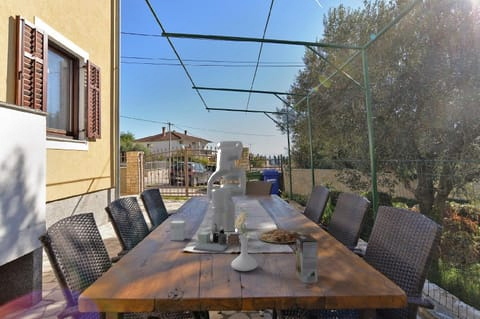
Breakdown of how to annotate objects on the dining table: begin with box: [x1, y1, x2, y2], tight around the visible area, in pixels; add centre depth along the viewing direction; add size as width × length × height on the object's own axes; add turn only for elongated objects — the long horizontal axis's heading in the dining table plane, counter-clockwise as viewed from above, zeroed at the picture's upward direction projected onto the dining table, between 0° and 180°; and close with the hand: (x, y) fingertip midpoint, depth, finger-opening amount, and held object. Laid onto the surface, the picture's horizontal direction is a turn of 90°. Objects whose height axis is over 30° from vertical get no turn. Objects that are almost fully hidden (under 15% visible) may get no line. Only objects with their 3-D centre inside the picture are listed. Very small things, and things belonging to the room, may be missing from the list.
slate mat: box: [193, 243, 229, 253], centre depth 149 cm, size 9×16×1 cm, turn 73°
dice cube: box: [214, 232, 228, 245], centre depth 159 cm, size 5×5×5 cm
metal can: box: [234, 227, 245, 235], centre depth 168 cm, size 5×5×6 cm
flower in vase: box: [230, 211, 258, 272], centre depth 120 cm, size 13×11×25 cm
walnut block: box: [227, 233, 241, 246], centre depth 157 cm, size 6×5×5 cm
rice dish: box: [257, 228, 304, 244], centre depth 168 cm, size 28×28×5 cm
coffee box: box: [294, 233, 319, 284], centre depth 111 cm, size 9×6×16 cm
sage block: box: [197, 230, 211, 244], centre depth 162 cm, size 6×5×5 cm
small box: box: [169, 220, 187, 241], centre depth 167 cm, size 8×6×10 cm
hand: (218, 240), depth 160 cm, fingers open, 9 cm apart
